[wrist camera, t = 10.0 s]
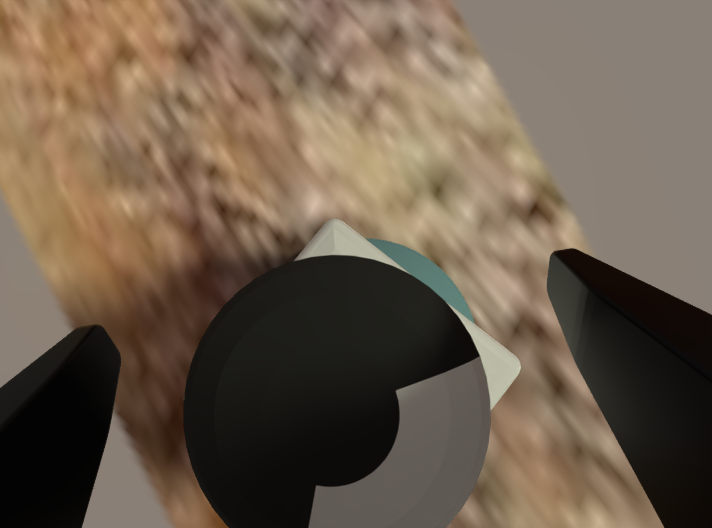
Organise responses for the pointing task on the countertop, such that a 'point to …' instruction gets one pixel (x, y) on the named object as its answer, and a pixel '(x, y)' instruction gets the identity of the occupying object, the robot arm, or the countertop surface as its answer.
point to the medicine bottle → (341, 396)
